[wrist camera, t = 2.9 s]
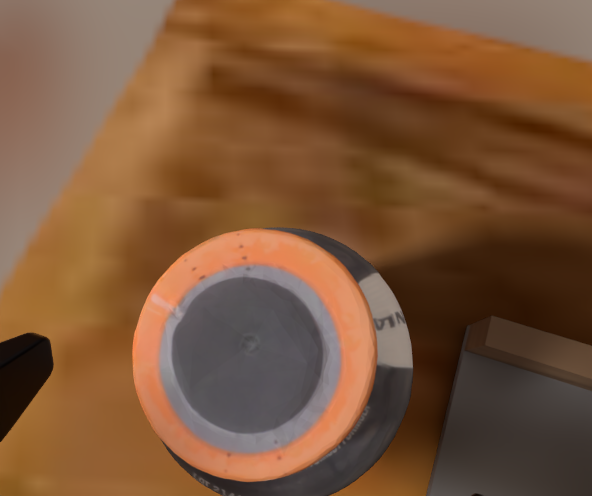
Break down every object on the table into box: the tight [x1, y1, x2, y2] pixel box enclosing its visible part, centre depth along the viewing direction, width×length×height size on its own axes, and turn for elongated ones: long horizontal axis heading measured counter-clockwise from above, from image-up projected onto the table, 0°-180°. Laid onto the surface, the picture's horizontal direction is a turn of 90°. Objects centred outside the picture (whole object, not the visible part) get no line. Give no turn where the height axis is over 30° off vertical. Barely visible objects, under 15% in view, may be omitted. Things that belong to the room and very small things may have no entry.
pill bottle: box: [133, 228, 413, 496], centre depth 13 cm, size 6×6×11 cm
